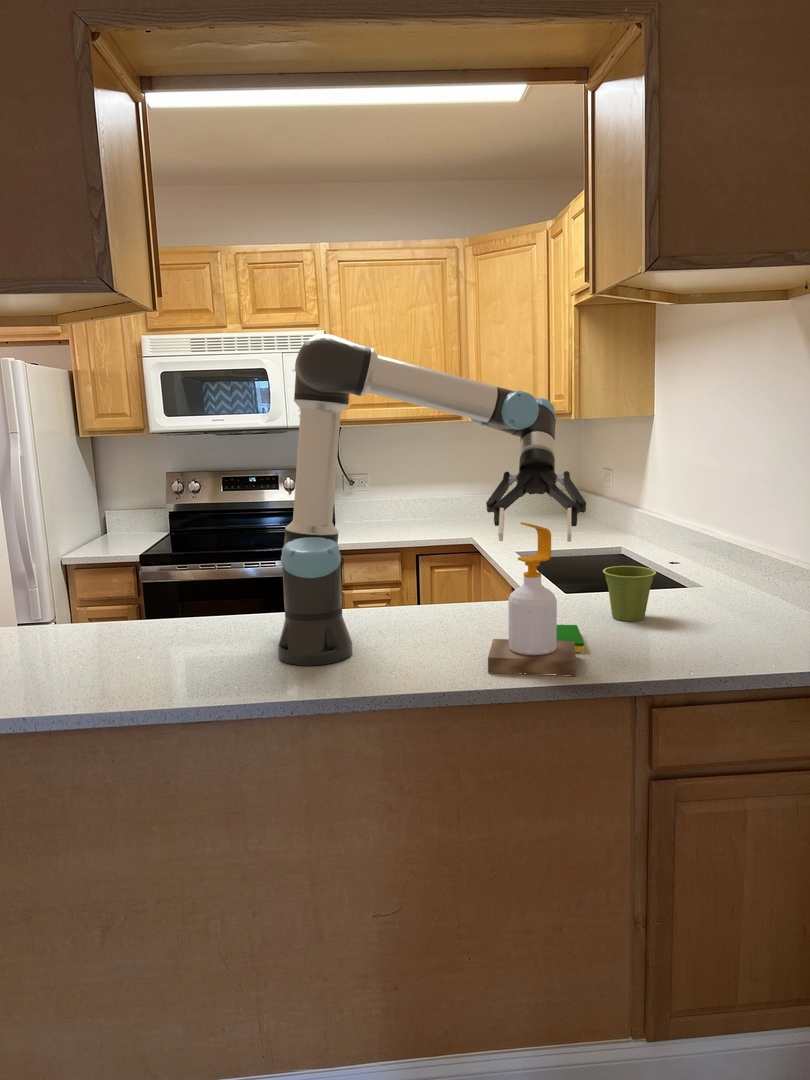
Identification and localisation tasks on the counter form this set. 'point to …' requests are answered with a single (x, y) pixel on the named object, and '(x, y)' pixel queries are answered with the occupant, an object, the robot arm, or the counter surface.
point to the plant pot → (629, 591)
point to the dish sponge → (570, 636)
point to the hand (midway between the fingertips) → (534, 537)
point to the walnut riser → (532, 660)
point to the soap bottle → (533, 606)
